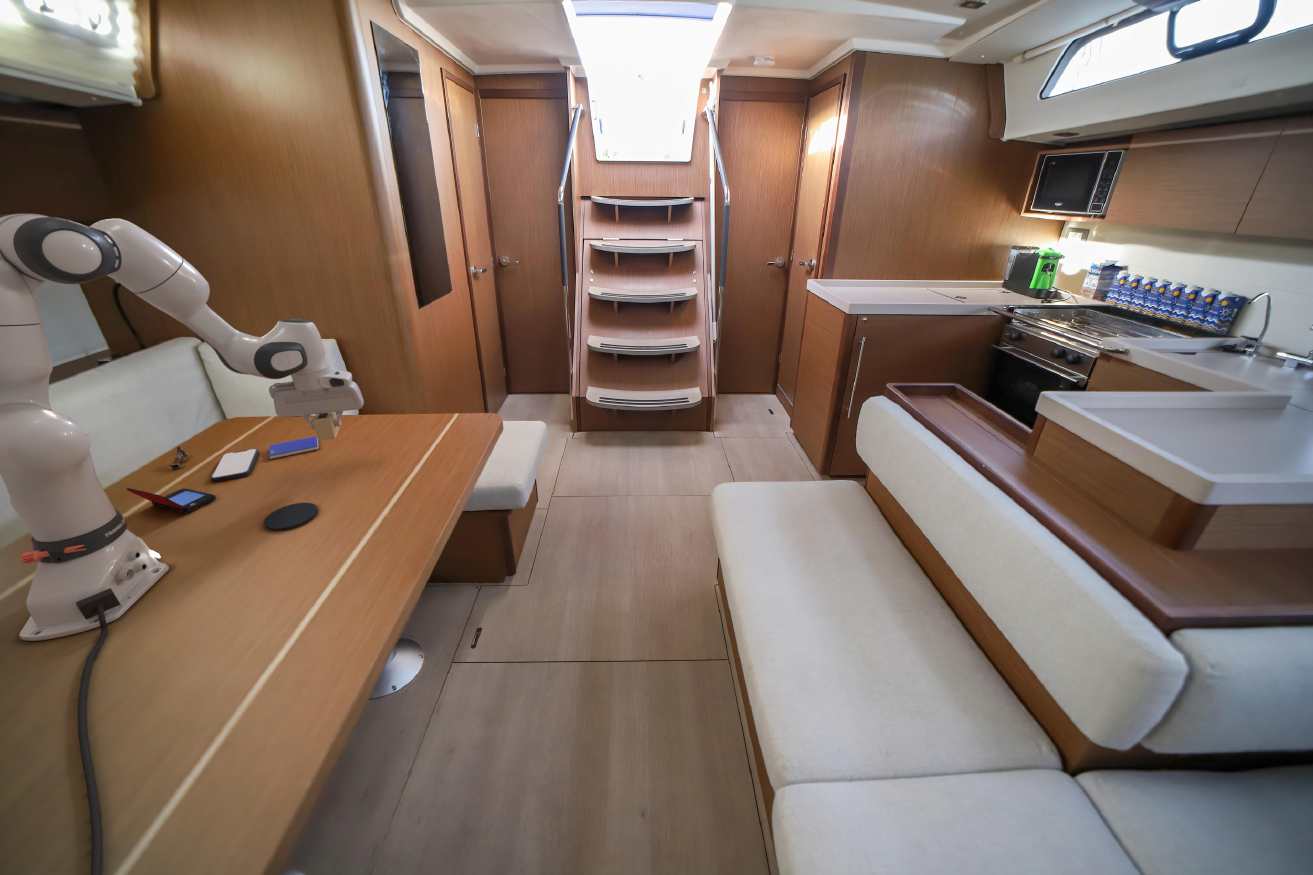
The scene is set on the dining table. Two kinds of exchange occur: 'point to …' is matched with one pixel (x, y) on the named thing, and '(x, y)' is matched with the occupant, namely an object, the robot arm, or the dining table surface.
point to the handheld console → (178, 499)
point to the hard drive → (293, 447)
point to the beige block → (325, 426)
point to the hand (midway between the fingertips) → (327, 427)
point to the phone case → (235, 465)
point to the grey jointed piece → (178, 456)
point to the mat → (291, 516)
